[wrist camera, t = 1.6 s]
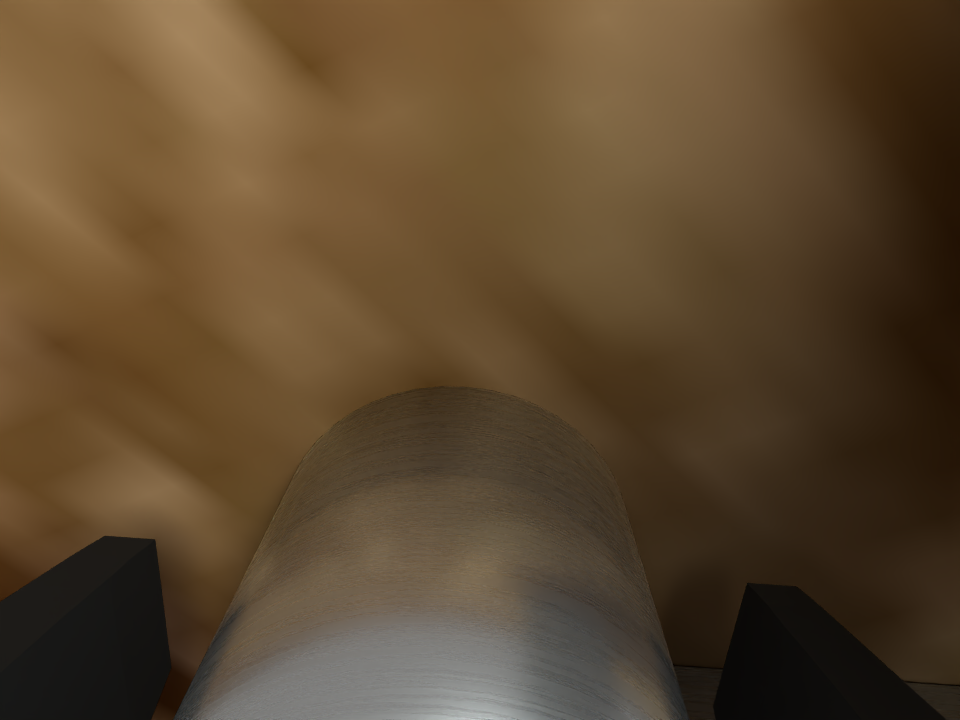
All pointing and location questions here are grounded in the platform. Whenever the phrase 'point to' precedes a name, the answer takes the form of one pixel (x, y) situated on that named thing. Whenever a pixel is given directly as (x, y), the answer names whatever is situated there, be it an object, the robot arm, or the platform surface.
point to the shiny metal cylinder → (443, 579)
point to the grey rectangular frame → (703, 682)
